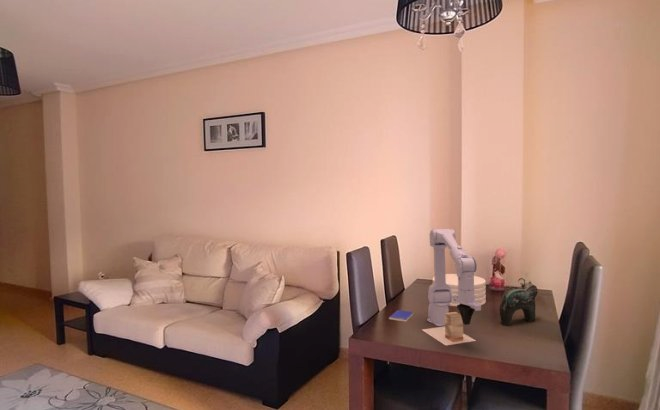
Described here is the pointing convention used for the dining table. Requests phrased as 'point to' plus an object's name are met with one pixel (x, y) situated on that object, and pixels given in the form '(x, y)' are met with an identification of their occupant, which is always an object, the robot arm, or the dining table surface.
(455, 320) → the birch block
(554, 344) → the dining table surface
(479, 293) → the plate stack
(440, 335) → the beige mat
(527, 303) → the green elephant figurine
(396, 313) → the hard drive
